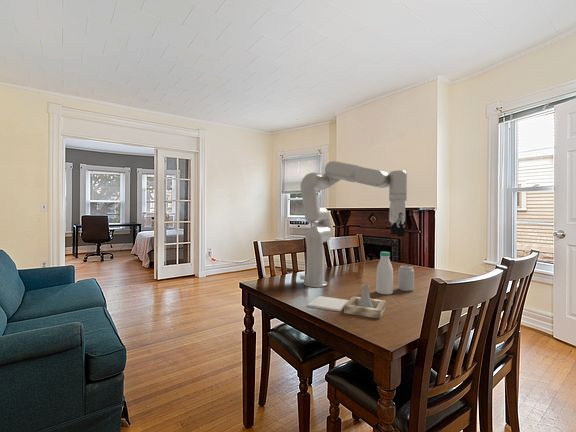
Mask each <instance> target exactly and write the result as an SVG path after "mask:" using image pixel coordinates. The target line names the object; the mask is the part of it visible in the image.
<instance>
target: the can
mask: <svg viewBox="0 0 576 432" xmlns="http://www.w3.org/2000/svg"><path fill="white" fill-rule="evenodd" d="M397 275H398V276H397V277H398V278H397V288H398V290H400V291H402V292H412V291H414V290H415V270H414V266H410V265H400V266H399V268H398V272H397Z"/></svg>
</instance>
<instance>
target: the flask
mask: <svg viewBox="0 0 576 432" xmlns="http://www.w3.org/2000/svg"><path fill="white" fill-rule="evenodd" d="M361 288H362V290H361V295H360V297H361V298H360V301H359V304H358V305H357V306H362V307H369V308H374V307H373V305H372V302H371V299H372V298H371V297H370V296H371V295H370V285H367V284H365V285H364V284H362V285H361Z"/></svg>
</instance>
